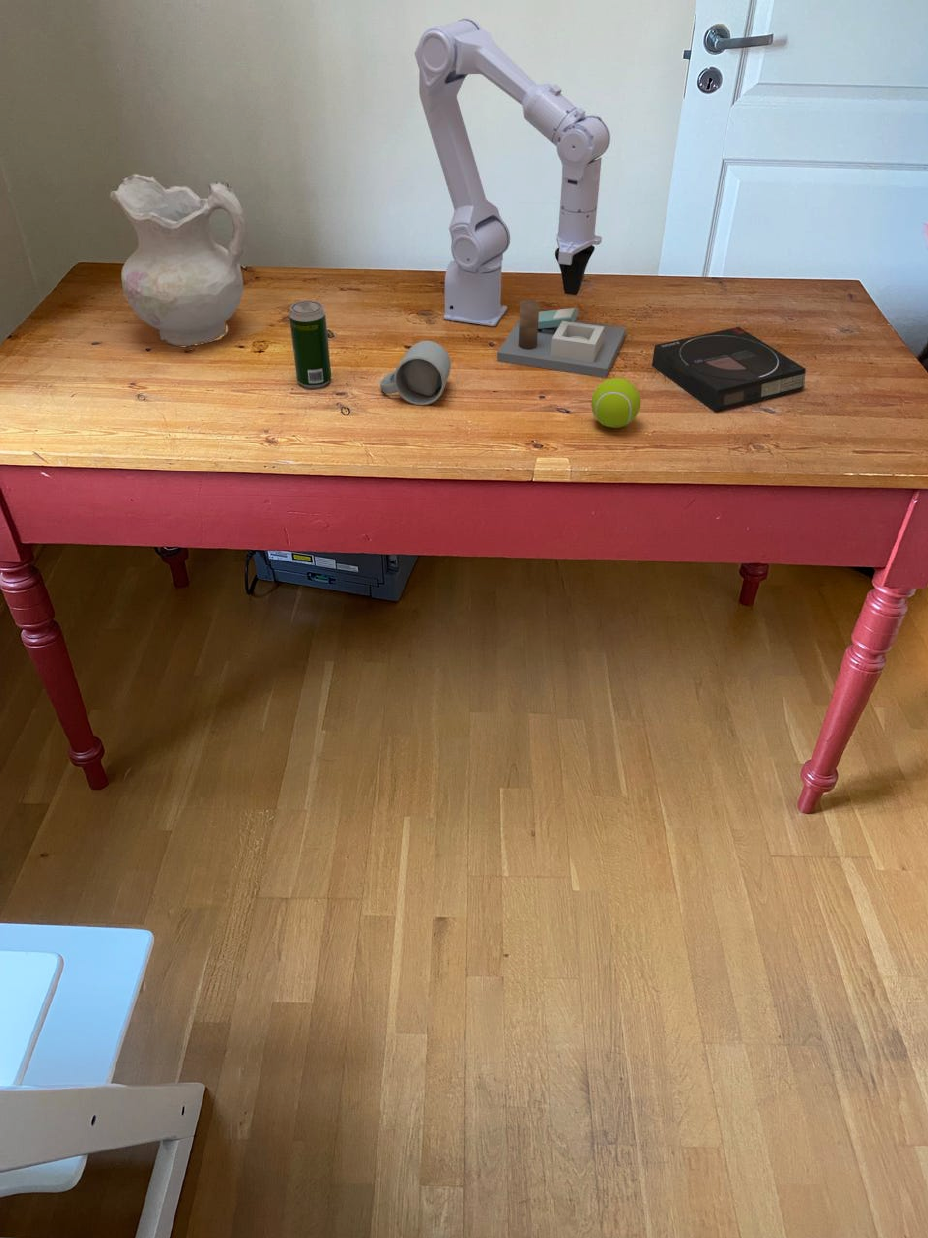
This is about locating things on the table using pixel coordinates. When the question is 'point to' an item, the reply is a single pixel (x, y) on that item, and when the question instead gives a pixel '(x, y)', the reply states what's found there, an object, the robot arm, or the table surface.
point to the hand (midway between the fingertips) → (571, 293)
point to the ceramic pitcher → (181, 259)
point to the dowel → (528, 324)
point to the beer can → (310, 344)
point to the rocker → (556, 317)
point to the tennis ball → (615, 403)
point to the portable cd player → (728, 368)
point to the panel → (567, 348)
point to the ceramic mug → (420, 374)
